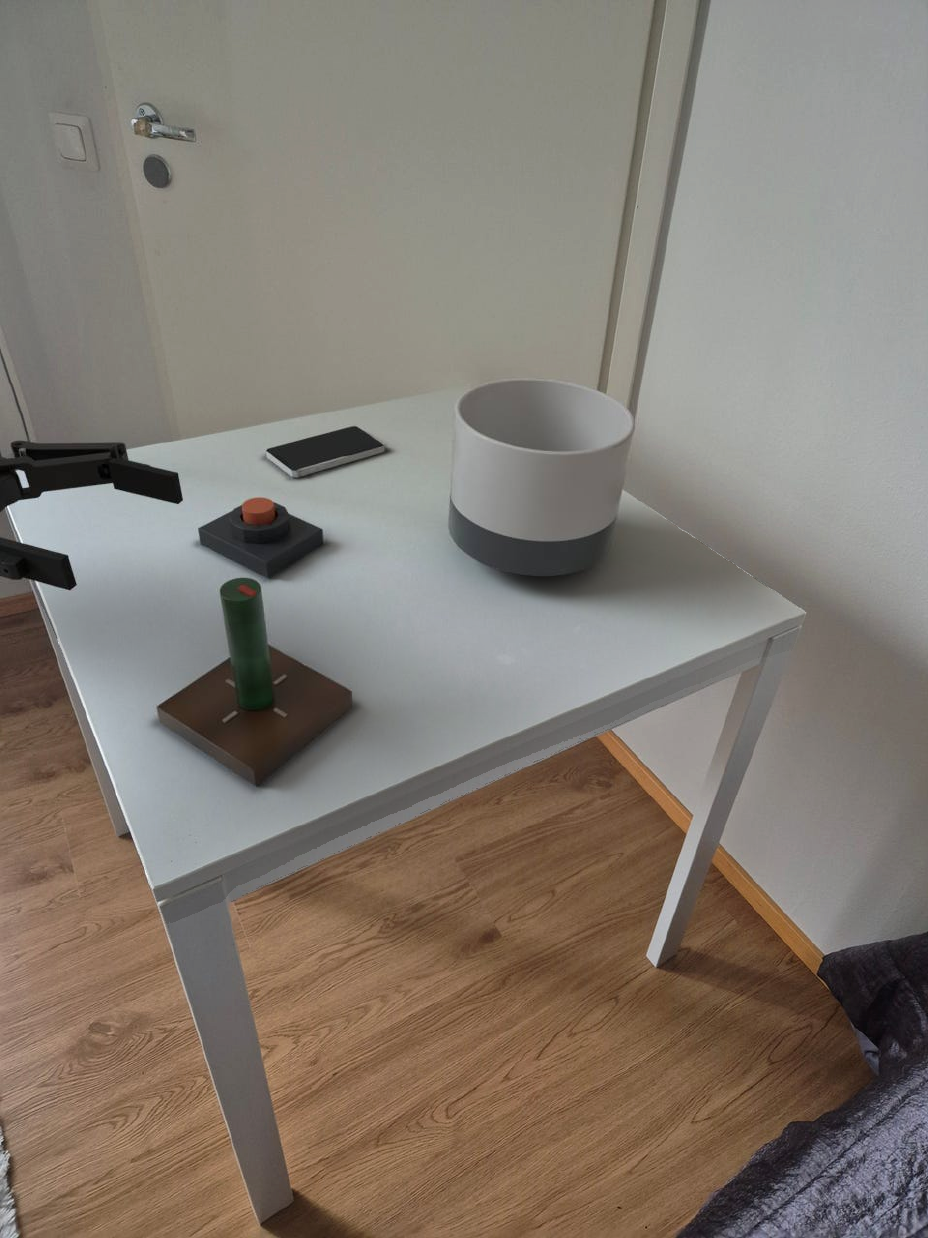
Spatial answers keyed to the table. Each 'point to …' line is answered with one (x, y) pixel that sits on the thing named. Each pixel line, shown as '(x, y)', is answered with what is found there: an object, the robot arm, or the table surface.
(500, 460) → the planter
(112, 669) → the table surface
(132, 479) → the robot arm
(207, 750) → the dial base
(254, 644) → the dial knob
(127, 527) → the table surface
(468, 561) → the table surface
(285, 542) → the button box
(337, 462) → the smartphone
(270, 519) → the button
